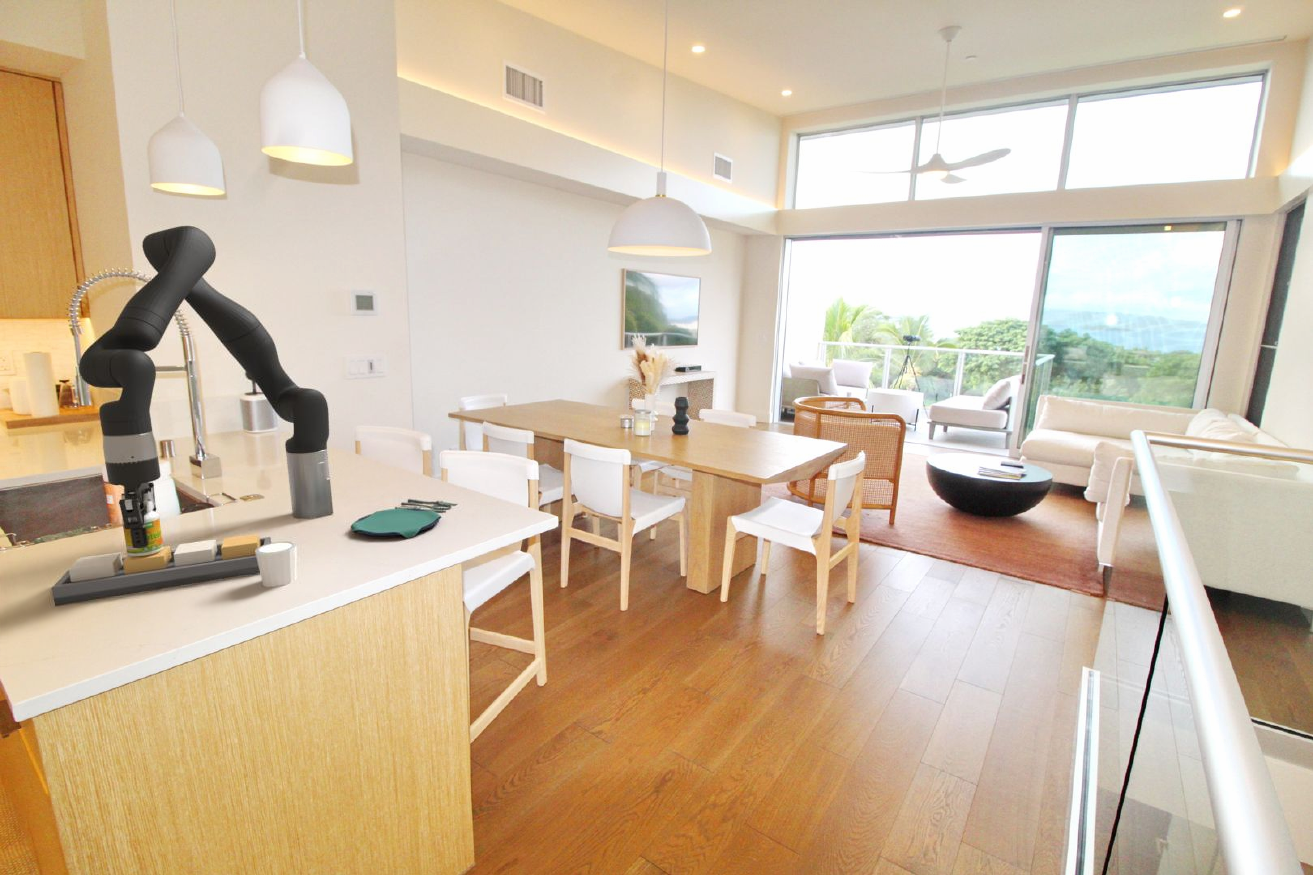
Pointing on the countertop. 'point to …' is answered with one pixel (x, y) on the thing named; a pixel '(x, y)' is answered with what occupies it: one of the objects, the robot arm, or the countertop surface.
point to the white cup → (277, 563)
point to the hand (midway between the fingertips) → (144, 541)
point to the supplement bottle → (152, 533)
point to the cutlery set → (401, 519)
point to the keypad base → (154, 578)
